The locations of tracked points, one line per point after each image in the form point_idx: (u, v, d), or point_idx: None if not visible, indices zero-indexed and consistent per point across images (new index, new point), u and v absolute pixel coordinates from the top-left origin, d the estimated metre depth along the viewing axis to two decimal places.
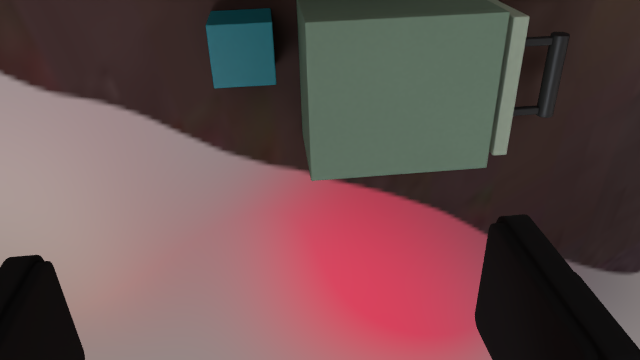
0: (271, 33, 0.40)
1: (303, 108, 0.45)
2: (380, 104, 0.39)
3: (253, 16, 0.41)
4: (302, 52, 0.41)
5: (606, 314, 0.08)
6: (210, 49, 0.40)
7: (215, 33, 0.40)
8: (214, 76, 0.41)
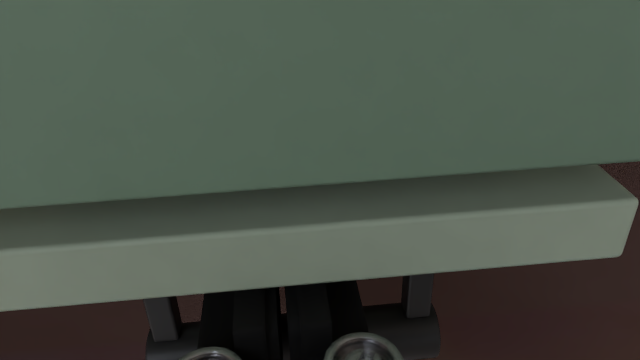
0: None
1: None
2: None
3: None
4: None
5: (323, 287, 0.09)
6: None
7: None
8: None
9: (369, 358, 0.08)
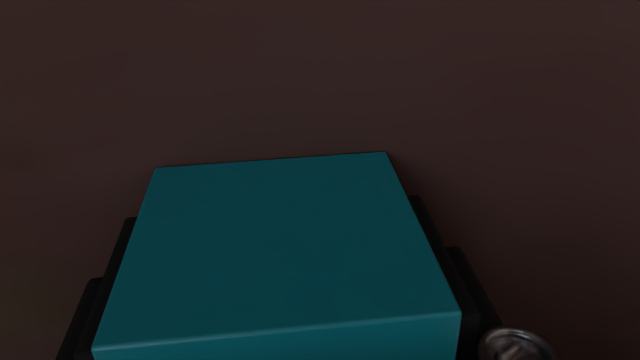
0: None
1: None
2: None
3: None
4: None
5: (461, 280, 0.09)
6: (330, 332, 0.07)
7: (414, 351, 0.07)
8: (169, 350, 0.07)
9: (520, 351, 0.08)
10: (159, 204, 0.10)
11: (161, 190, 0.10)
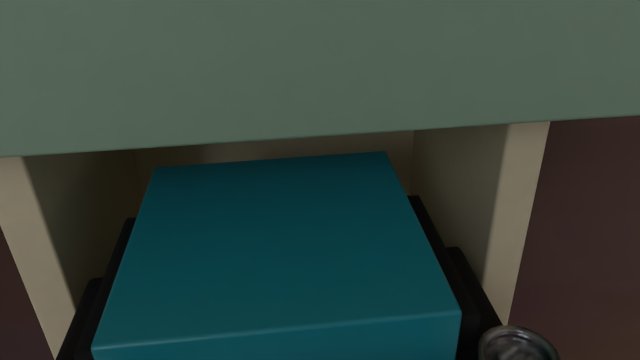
0: None
1: None
2: None
3: None
4: None
5: (460, 280, 0.09)
6: (330, 332, 0.07)
7: (414, 351, 0.07)
8: (169, 350, 0.07)
9: (520, 351, 0.08)
10: (159, 204, 0.10)
11: (161, 190, 0.10)
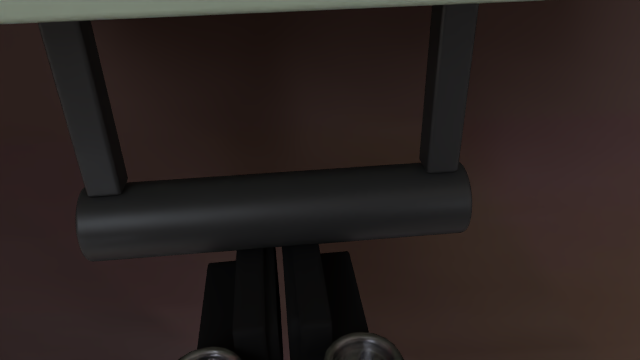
0: None
1: None
2: None
3: None
4: None
5: (323, 287, 0.09)
6: None
7: None
8: None
9: (369, 358, 0.08)
10: None
11: None
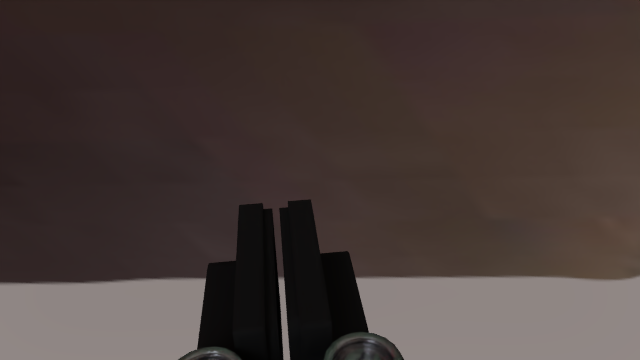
0: None
1: None
2: None
3: None
4: None
5: (323, 287, 0.09)
6: None
7: None
8: None
9: (369, 358, 0.08)
10: None
11: None
